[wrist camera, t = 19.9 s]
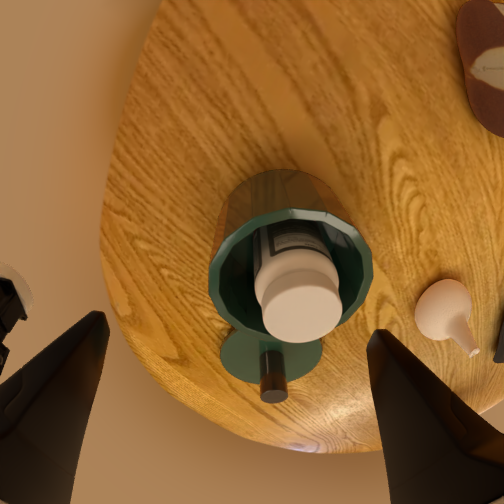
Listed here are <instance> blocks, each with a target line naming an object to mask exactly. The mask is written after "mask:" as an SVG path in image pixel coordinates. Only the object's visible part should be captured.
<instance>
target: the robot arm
mask: <svg viewBox="0 0 504 504" xmlns="http://www.w3.org/2000/svg"><path fill="white" fill-rule="evenodd" d="M27 318H28V317H27V315H26V312H25V310H24V308H23V306H22V303H21V301H20V299H19V296H18V294H17V291H16V289H15V286H14V284H13V282H12V280H10V279H7V278H2V277H0V375H1V373H2V370H3V367H4V364H5V362H6V359H7V357H8V354H9V352H10V350H9V349H8V348H7V347H5V345H4V344H3V343H2V342H3V340H4V339H5V336H6V335H7V333H10V332H11V330H12V328H13V327H14V325H15V324H16V322H17V321H18V319H20V320H24V321H25V320H27ZM109 336H110V329H109V325H108V322H107V319H106V315H105V313H104V312H102V311H91V312H90V313H89V314H87V315H86V316H85V317H83V318H82V319H81V320H80V321H78V322H77V323H76V324H74V325H73V326H72V327H71V328H69V329H68V330H67V331H66V332H64V333H63V334H62V335H61V336H59V337H58V338H57V339H56V340H54V341H53V342H52V343H51V344H50V345H48V346H47V347H46V348H44V349H43V350H42V351H41V352H40V353H38V354H37V355H36V356H35V357H33V359H31V360H30V361H29V362H27V364H25V365H24V366H23V367H22V368H20V369H19V370H18V371H17V372H16V373H14V374H13V375H12V376H11V377H9V378H8V379H7V380H6V381H5V382H3V383H2V384H1V385H0V504H70V501H71V495H72V490H73V484H74V479H75V478H74V476H75V474H76V469H77V464H78V459H79V454H80V451H81V446H82V442H83V438H84V434H85V430H86V426H87V423H88V419H89V415H90V411H91V408H92V404H93V401H94V397H95V394H96V391H97V387H98V384H99V381H100V377H101V373H102V369H103V364H104V359H105V354H106V350H107V345H108V340H109ZM366 352H367V360H368V368H369V377H370V385H371V391H372V396H373V401H374V406H375V410H376V415H377V420H378V425H379V431H380V436H381V441H382V447H383V453H384V459H385V465H386V471H387V477H388V484H389V492H390V501H391V504H504V434H503V433H501V432H499V431H498V430H496V429H495V428H494V427H493V426H492V425H490V424H489V423H488V422H487V421H485V420H484V419H483V418H482V417H480V416H479V415H478V414H477V413H476V412H475V411H473V410H472V409H471V408H470V407H469V406H468V405H467V404H465V403H464V402H463V401H462V400H461V399H460V398H459V397H458V396H457V395H456V394H455V393H454V392H453V391H452V392H451V389H450V388H449V387H448V386H447V385H446V384H445V383H443V382H442V381H441V380H440V379H439V378H438V377H437V376H436V375H435V374H434V373H433V372H432V371H431V370H430V369H429V368H428V367H427V366H426V365H425V364H424V363H423V362H421V361H420V360H419V359H418V358H417V357H416V356H415V355H414V354H413V353H412V352H411V351H410V350H409V349H408V348H407V347H405V346H404V345H403V344H402V343H401V342H400V341H399V340H398V339H397V338H396V337H395V336H394V335H392V334H391V333H390V332H389V331H388V330H387V329H376V330H375V331H374V332H373V334H372V336H371V338H370V340H369V342H368V345H367V349H366Z"/></svg>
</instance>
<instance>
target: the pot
mask: <svg viewBox="0 0 504 504" xmlns="http://www.w3.org/2000/svg"><path fill="white" fill-rule="evenodd" d="M287 219H300V220H311V221H315V222H316V224H317V225H318V227H319V230H320V232H321V235H322V237H323V239H324V242H325V244H326V246H327V249H328V251H329V253H330V256H331V258H332V261H333V263H334V265H335V268H336V270H337V274H338V279H339V287H338V292H339V296H340V300H341V303H342V315H341V318H340V320H339V322H338V324H337V325H336V326H335V328H336V327H337V326H339V325H341V324H343V323H344V322H345V321H347V320H348V319H349V318H350V317H351V316H352V315H353V314H354V313H355V311H356V310H357V309H358V308H359V307H360V306H361V305H362V304H363V303H364V301H365V298H366V296H367V293H368V291H369V288H370V285H371V283H372V280H373V263H372V252H371V249H370V248H369V246H368V244H367V243H366V241H365V239H364V238H363V236H362V235H361V233H360V232H359V230H358V228H357V227H356V225H355V224H354V222H353V221H352V219H351V217H350V216H349V214H348V213H347V211H346V210H345V208H344V207H343V205H342V204H341V202H340V201H339V200H338V198H337V197H336V195H335V194H334V193H333V191H332V190H331V188H330V187H329V186H327V185H326V184H325V183H324V182H322V181H321V180H319V179H318V178H316V177H314V176H312V175H310V174H307V173H304V172H301V171H296V170H288V169H279V170H271V171H266V172H263V173H260V174H257V175H255V176H253V177H251V178H249V179H247V180H246V181H244V182H243V183H241V184H240V185H239V186H238V187H237V188H236V189H235V190H234V191H233V192H232V193H231V194H230V195H229V197H228V198H227V200H226V201H225V203H224V205H223V208H222V210H221V213H220V214H219V216H218V221H217V226H216V231H215V236H214V241H213V247H212V252H211V257H210V263H209V280H208V292H209V296H210V298H211V300H212V302H213V303H214V305H215V307H216V309H217V311H218V313H219V315H220V316H221V317H222V318H223V319H224V320H226V321H227V322H228V323H229V324H231V325H232V326H233V327H234V328H236V329H237V330H238V331H239V332H241V333H244V334H246V335H249V336H252V337H255V338H258V339H261V340H264V341H273V342H286V341H282V340H280V339H278V338H276V337H274V336H273V335H271V334H270V333H269V332H268V331H267V329H266V328H265V325H264V323H263V316H262V307H261V305H260V304H259V302H258V300H257V298H256V294H255V287H254V257H253V233H254V230H255V229H257V228H258V227H262V226H265V225H269V224H273V223H276V222H280V221H284V220H287Z"/></svg>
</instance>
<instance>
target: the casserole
mask: <svg viewBox="0 0 504 504" xmlns="http://www.w3.org/2000/svg"><path fill="white" fill-rule="evenodd" d="M493 361H494V362H495V363H504V322H503V325H502V328H501V331H500V338H499V344H498V347H497V350H496V353H495V355H494V358H493Z"/></svg>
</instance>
